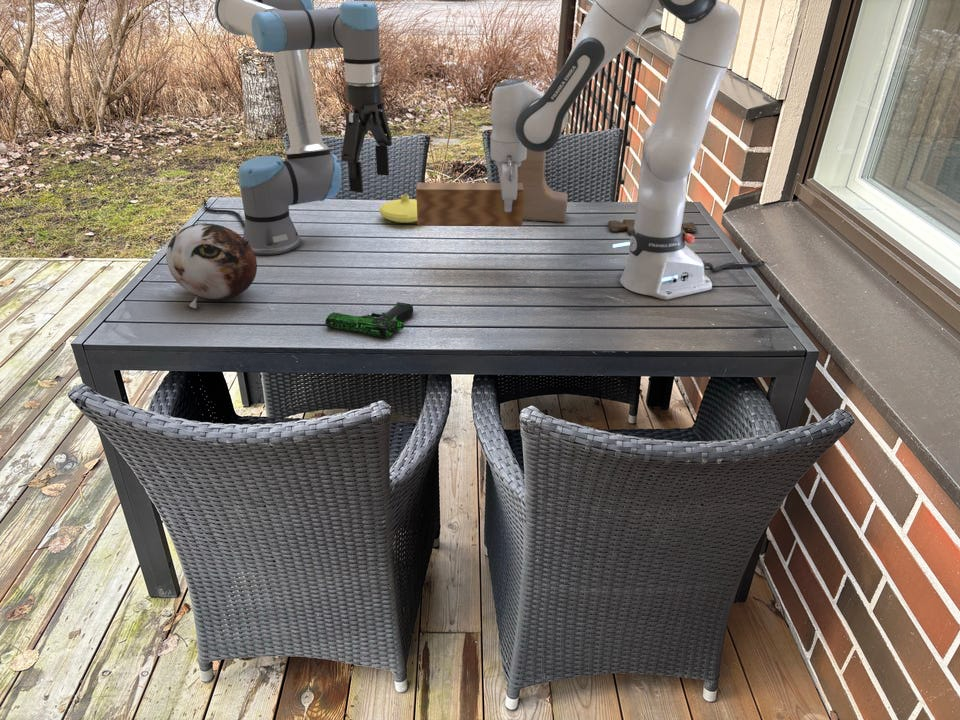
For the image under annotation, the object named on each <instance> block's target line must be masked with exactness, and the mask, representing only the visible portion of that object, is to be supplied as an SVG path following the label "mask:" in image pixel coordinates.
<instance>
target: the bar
mask: <svg viewBox="0 0 960 720" xmlns="http://www.w3.org/2000/svg"><path fill="white" fill-rule="evenodd" d="M415 189H416V191H415V193H416V200H417V221H416V222H417V226H418V227H523V220H522V218H523V194H524V189H523V185H522V183H518V188H517V199H516V200H513V201H512V211H511V212H505V211H504V200H503V199H502V194H501V187H500V182H417V185H416V188H415Z"/></svg>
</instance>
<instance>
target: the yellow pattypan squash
mask: <svg viewBox="0 0 960 720" xmlns="http://www.w3.org/2000/svg"><path fill="white" fill-rule="evenodd" d="M378 211H379V213H380V216H381V217H383V218H384V219H387V220H389V221H392V222H395V223H401V224H408V223H409V224H411V223H416V222H417V199H413V198H410V196H409V195H408V194H402V195H401V196H400V199H399V198H398V199H392V200H389V201H387V202H384V203H383V204H381V206H380V207H379V209H378Z"/></svg>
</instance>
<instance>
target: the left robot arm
mask: <svg viewBox="0 0 960 720" xmlns="http://www.w3.org/2000/svg"><path fill="white" fill-rule="evenodd" d="M214 14H215V17H216V20H217V22H218V23H219V25H220V26H221V27H222V28H223V29H224V30H225V31H227V32H228V33H230V34H233V35H235V36H248V37H250V38H253V41H254V44H255V45H256V47H257V49H258V50H259V51H261V52H264V53H268V52H269V53H272V55H273V59H274V66H275V71H276V76H277V82H278V87H279V92H280V93H279V94H280V98H281V104H282V108H283V114H284V119H285V124H286V130H287V135H288V140H289V145H290V146H289V148H288V149H287V151H286V153H285V155H286V160H283V158H282V157H281V156H279V155H273V154H271V155H262V156H257V157H253V158H250V159H248V160H245V161H244V162H243V163H241V165H240V166H239V167H238V170H237V174H238V186H239V190H240V196H241V201H242V208H243V212H244V213H243V215H244V219H245V220H244V219H243V218H242V216H241V215H240V213H239V212H237V211H235V210H230V209H215V208H209V207H208V206H207V205H208V204H207V203H208V201H207V200H205V199H204V201H203V207H204V209H205V210H206V211H207V212H211V213H224V214H225V213H227V214H228V213H229V214H233V215H236V216H237V218H238V220H239V221H240V223H241V225H242V227H243V228H244V229H243V235H242V237H243V238H244V239H245V240H246V241H249V242H248V244H249V245H250V247H251V248H252V250H253V252H254V254H255V256H256V255H257V256H275V255H281V254H282V255H283V254H285V253H289V252H291V251H293V250H296V249H297V248H298V247H299V246H300V244H301V241H300V235H299V233H298V231H297V229H296V227H295V225H294V223H293V220H292V218H291V216H290V207H289V206H295V205H301V204H308V203H312V202H313V203H314V202H323V201H325V200H329V199H333V198H335V197H337V195H338V194H339V193H340V190H341V187H342V178H343V177H342V175H343V174H342V168H341V167H342V166H341V163H340V161H339V158H338V157H337V155H335V154H334V153H331V150H330V147H329V146H328V145H326V144H325V143H324V142H323V136H322V130H321V125H320V119H319V113H318V107H317V102H316V97H315V90H314V84H313V78H312V74H311V67H310V61H309V56H308V50H321V49H322V50H323V49H342V53H343V67H344V80H345V83H347V84H346V86H345V91H346V92H345V94H346V102H347V103H348V104H349V105H351V106H352V107H353V111H352V112H346V113H345V128H344V134H343V135H344V136H343V142H342V143H343V144H342V149H341V150H342V151H341V158H340V159H341V161H342V162H345V163H347V171H348V180H349V181H348V182H349V191H350V192H352V193H353V192H354V193H361V194H362V193H364V188H363V174H362V162H361V161H359V160H360V156H361V152H362V148H363V146H364V141H365V138H366V135H367V134H368V133H369V131H370V132H371V135H372V137H373V139H374V140H375V142H376V144H377V145H375V148H374V149H375V166H376V175H377V176H378V175H379V176H390V168H389V166H390V165H389V150H388V149H389V148H388V147H392V145H393V142H392V140H393V136H392V133H391V129H390V126H389V123H388V122H389V121H388V119H387V115H386V111H385V110H386V109H385V103H384V101H383V86H382V84H381V81H382V72H383V68H382V67H381V49H380V48H381V46H380V20H379V15H378V14H379V13H378V7H377V5H376V4H375V2H373V1H365V0H349V1H343V2H342V3H341V4H340V6H339V7H338V6H334V7H333V6H330V7H326V8H323V9H322V8H320V9H318V8H317V9H315V7H314V4H313V1H312V0H215V2H214ZM206 202H207V203H206ZM205 206H206V207H205Z"/></svg>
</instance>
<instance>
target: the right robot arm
mask: <svg viewBox="0 0 960 720" xmlns="http://www.w3.org/2000/svg"><path fill="white" fill-rule="evenodd" d="M660 9H665V10H666V11H667V12H668V13H670V14H671V15H673V16H675V17H676V18H677V19H679V20H680V21H682V22H683V23H684V30H683V35H682V38H681V41H680V44H679V47H678V49H677V52H676V55H675V57H674V61H673V63H672V66H671V69H670V71H669V74H668V77H667V80H666V83H665V86H664V88H663V91H662V95H661V99H660V103H659V107H658V111H657V113H656V117H655V121H654V122H653V123H652V124H650V125H649V126H648V128H647V130H646V131H645V132H644V133H645V134H644V137H643V140H642V148H641V149H642V150H641V158H640V170H639V179H638V188H637V197H636V198H637V199H636V206H635V214H634V220H635V221H634V226H633V227H632V231H631V234H630V238H629V241H627V242H621V243H614V244H612V248H619V247H625V246H629V247H628V248H629V249H628V250H629V252H628V256H627V260H626V264H625V267H624V269H623V272H622V274H621V276H620V279H619V283H620V285H621V286H622V287H624V288H625V289H627V290H629V291H631V292H632V293H633V292H634V293H636V294H640V295H644V296H651V297H654V298H658V299H660V300H671V299H676V298H681V297H684V296H689V295H694V294H697V293H702V292H706V291H707V292H708V291H710V290H712V288H713V283H712V281H711V279H710V278H709V277H708V276H707V275H706V274H705V272H706V267H708V268H709V270H710V271H711V272H713V273H717V272H720V271H722V270H724V269H725V268H729V267H745V268H747V267H754V266H757V265H759V264H760V263H761V262H758V259H757V260H755V261H752V262H747V263H748V264H735V263H736V262H727V263H724V264H721V265H720V266H718V267H714V266H713V264H712V263H711V262H708V261H707V262H706V261H704V260H703V259H701V258H700V257H699V256H698V255H697V254H696V252H694V251H693V250H692V249H691V248H690V247H688V246H687V245H686V243H687V244H690V245H692V244H693V243H695V240H696V239H695V236H694V235H692V234H691V233H690V232H686V231H685V232H684V231H683V230H681V226H682V223H683V219H684V214H685V208H686V201H687V187H688V185H687V184H688V177H689V174H690V173H691V171H692V170H693V168H694V166H695V163H696V161H697V157H698V155H699V151H700V148H701V146H702V143H703V140H704V137H705V133H706V130H707V127H708V123H709V119H710V116H711V112H712V109H713V106H714V103H715V102H716V101H715V100H716V99H717V95H718V93H719V90H720V88H721V85H722V83H723V81H724V78H725V75H726V73H727V70H728V69H729V68H728V67H729V65H730V62H731V60H732V57H733V54H734V50H735V47H736V44H737V40H738V35H739V31H740V26H741V16H740V14H739V12H738V11H737V10H736V8H735V7H733V6H732V5H731V4H729V3H727V2H724V1H721V0H594V2H593V4H592V6H591V7H590V9H589V10H588V11H587V14H586V16H585V17H584V20H583V22H582V24H581V26H580V29H579V30H578V33H577V36H576V38H575V41H574V43H573V46H572V48H571V50H570V53H569V55H568V57H567V59H566V61H565V63H564V64H563V66H562V67H561V68H560V71H559V72H558V73H557V75H556V77H555V78H554V79H553V80H552V82H551V84H550V85H549V86H548V88H547V89H546V91H545V92H543V91H541V90H539V89H537V88H535V87H534V86H532V85H531V84H530V83H529V82H528V81H527V80H526V79H523V78H512V79H507V80H504V81H502V82H500V83H498V84H497V85H496V86H495V87H494V88H493V91H492V96H491V104H490V106H491V107H490V122H491V127H492V129H491V133H490V146H489V148H490V149H489V150H490V151H489V153H490V155H489V158H490V159H491V160H492V161H494V164H495V166H496V167H497V172H498V177H499V183H500V187H501V194H502V199H503V200H504V211H505V212H511V211H512V201H513V200H516V199H517V188H518V167H519V166H521V161H524V160H525V159H526V158H527V149H529V150H531V151H535V152H543V151H546V152H547V151H548V150H550V149H552V148H553V147H554V146H555V145H556V144H557V142H558V141H559V139H560V136H561V135H562V133H563V131H564V130H565V128H566V126H567V125H568V122H569V118H570V114H569V110H570V109H571V107H572V106H573V104H574V103H575V101H576V100H577V99H578V97H579V96H580V95H581V93H582V92H583V90H584V89H585V88H586V86H587V85H588V84H589V82H590V81H591V80H592V79H593V78H594V77H595V76H596V75H597V74H598V73H599V72H600V71H601V70H602V69H603V68H604V67H606V66H607V65H608V64H609V63H611V62H612V61H613V60H614V59H615V58H616V57H617V56H618V55H619V54H620V53H621V52H622V51H623V50H624V49H625V48H626V47H627V45H629V43H630V42H631V41H632V40H633V38H634V37H635V35H636V34H637V33H638V32H639V30H640V28H641V27H642V26H643V24H644V23H645V21H646V20H647V19H648V18H649V16H650V15H651V14H653V12H655V11H657V10H660ZM685 242H686V243H685Z"/></svg>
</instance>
